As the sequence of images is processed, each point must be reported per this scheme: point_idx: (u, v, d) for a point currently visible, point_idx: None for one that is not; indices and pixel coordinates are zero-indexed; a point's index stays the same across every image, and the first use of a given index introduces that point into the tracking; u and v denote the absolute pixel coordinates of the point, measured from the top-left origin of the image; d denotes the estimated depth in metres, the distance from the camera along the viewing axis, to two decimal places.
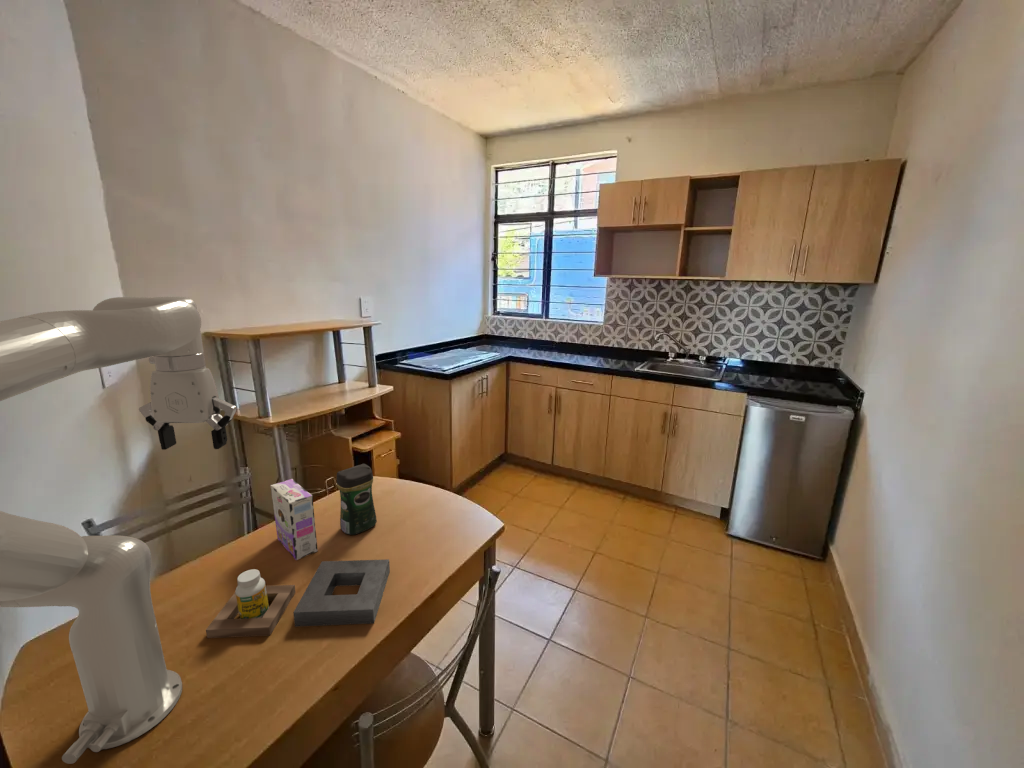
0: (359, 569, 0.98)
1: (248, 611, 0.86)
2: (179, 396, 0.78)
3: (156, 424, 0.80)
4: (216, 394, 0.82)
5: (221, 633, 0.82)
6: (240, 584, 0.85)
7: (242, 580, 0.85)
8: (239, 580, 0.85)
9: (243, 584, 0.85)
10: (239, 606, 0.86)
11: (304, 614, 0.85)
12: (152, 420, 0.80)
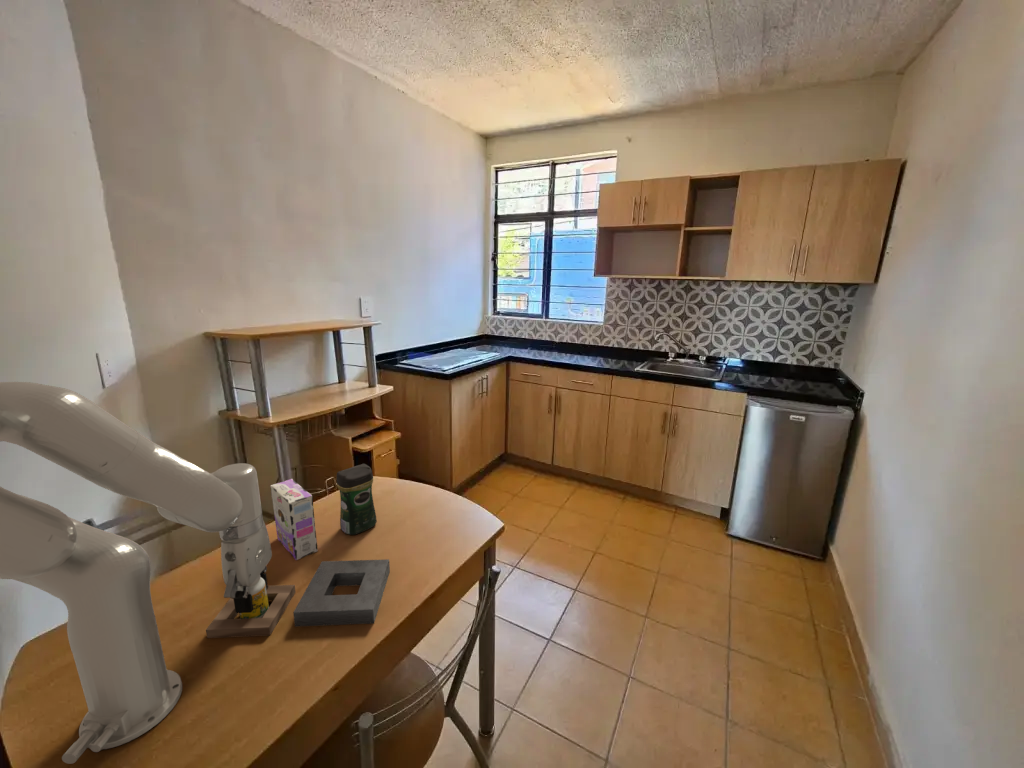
0: (359, 569, 0.98)
1: None
2: (260, 547, 0.86)
3: (246, 592, 0.83)
4: None
5: (221, 633, 0.82)
6: None
7: None
8: None
9: None
10: None
11: (304, 614, 0.85)
12: (240, 592, 0.82)
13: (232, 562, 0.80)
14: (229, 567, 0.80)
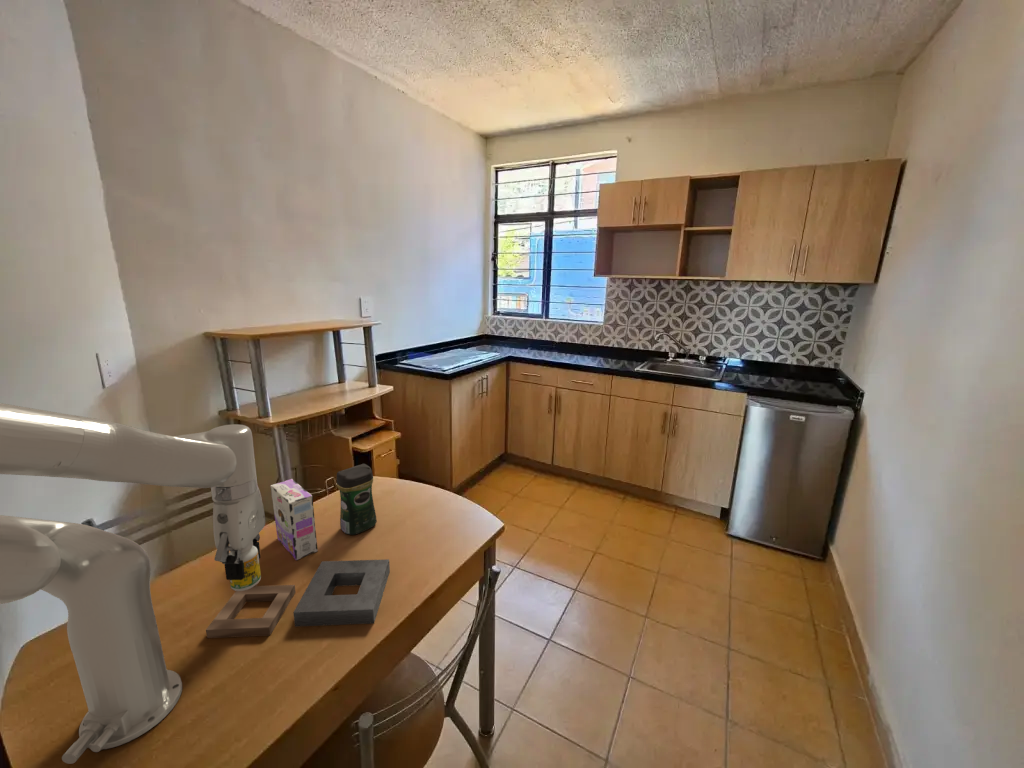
0: (359, 569, 0.98)
1: None
2: (254, 512, 0.84)
3: (237, 558, 0.81)
4: None
5: (221, 633, 0.82)
6: None
7: None
8: None
9: None
10: None
11: (304, 614, 0.85)
12: (232, 557, 0.80)
13: (224, 524, 0.78)
14: (220, 529, 0.78)
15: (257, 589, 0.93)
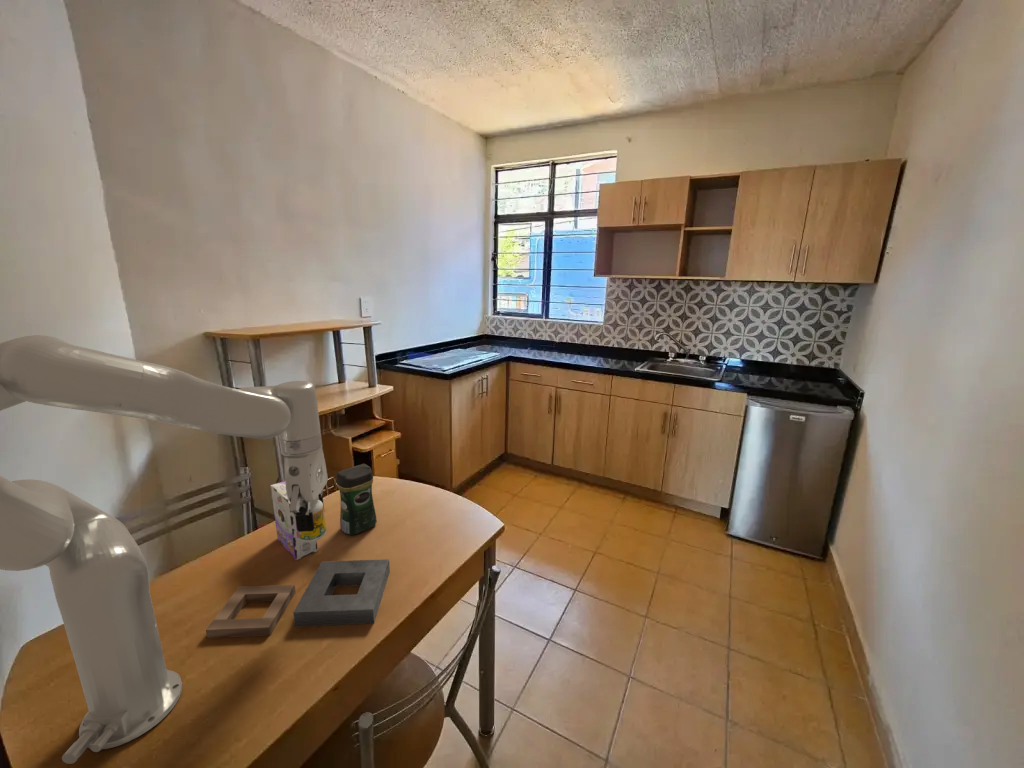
0: (359, 569, 0.98)
1: None
2: (319, 467, 0.86)
3: (308, 509, 0.83)
4: None
5: (221, 633, 0.82)
6: (300, 503, 0.85)
7: None
8: None
9: (303, 503, 0.85)
10: None
11: (304, 614, 0.85)
12: (303, 509, 0.82)
13: (296, 477, 0.80)
14: (292, 481, 0.80)
15: (257, 589, 0.93)
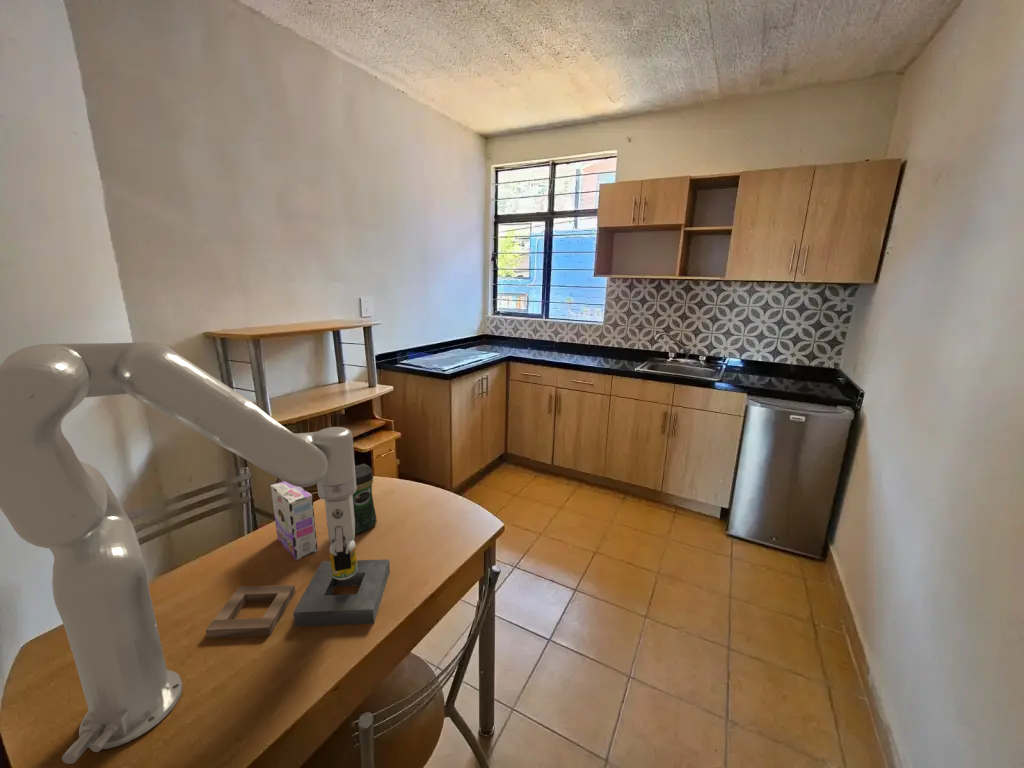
0: (359, 569, 0.98)
1: None
2: (353, 506, 0.90)
3: (347, 548, 0.87)
4: None
5: (221, 633, 0.82)
6: None
7: None
8: None
9: None
10: None
11: (304, 614, 0.85)
12: (344, 548, 0.86)
13: (339, 519, 0.84)
14: (336, 524, 0.84)
15: (257, 589, 0.93)
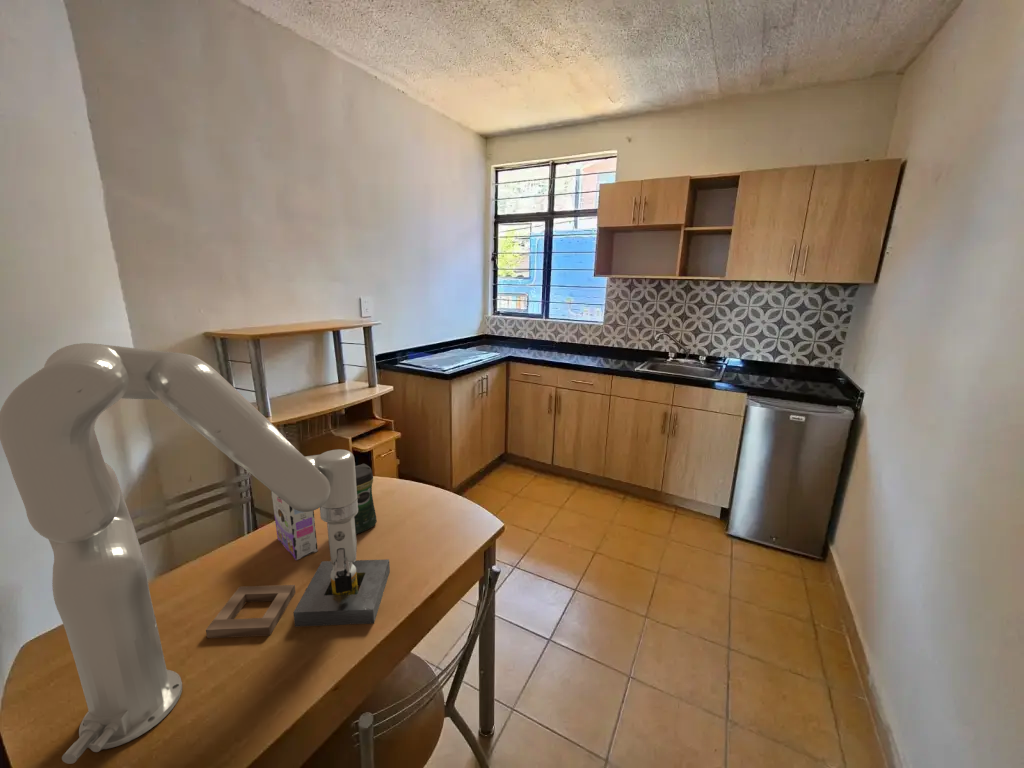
0: (359, 569, 0.98)
1: (346, 594, 0.91)
2: None
3: (348, 570, 0.87)
4: None
5: (221, 633, 0.82)
6: None
7: None
8: None
9: None
10: None
11: (304, 614, 0.85)
12: (346, 571, 0.86)
13: (341, 541, 0.86)
14: (338, 546, 0.85)
15: (257, 589, 0.93)
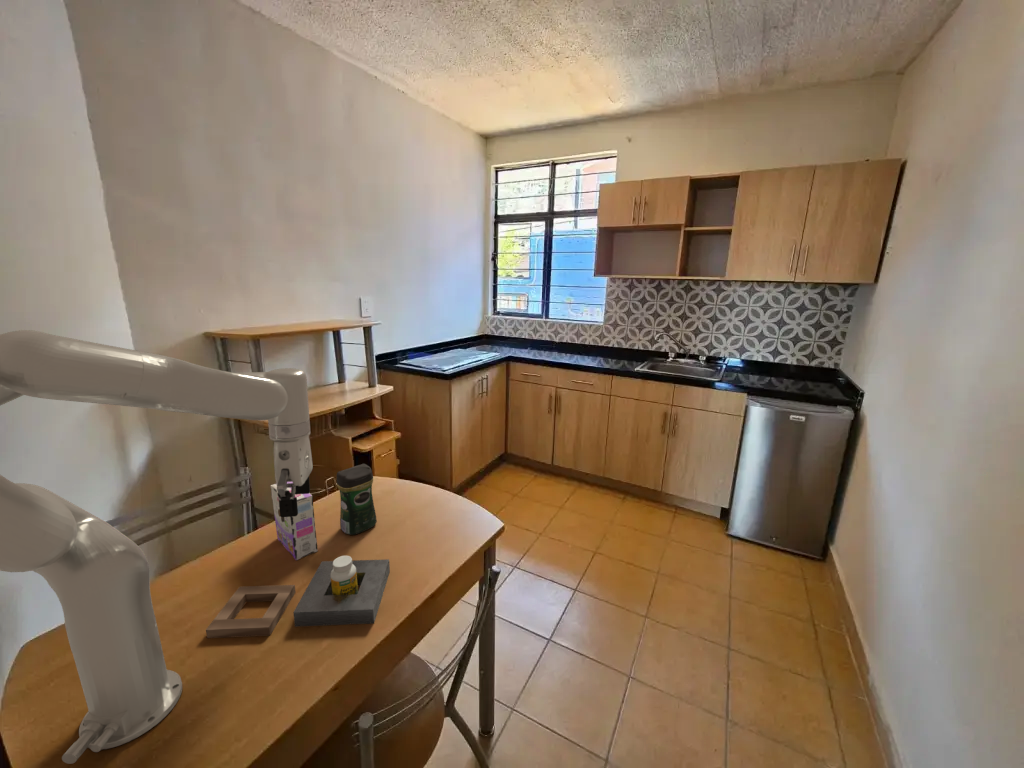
0: (359, 569, 0.98)
1: (346, 594, 0.91)
2: (307, 453, 0.88)
3: (293, 493, 0.83)
4: None
5: (221, 633, 0.82)
6: (338, 569, 0.90)
7: (339, 565, 0.90)
8: (337, 566, 0.90)
9: (341, 569, 0.90)
10: (337, 591, 0.90)
11: (304, 614, 0.85)
12: (289, 493, 0.82)
13: (286, 461, 0.82)
14: (282, 465, 0.82)
15: (257, 589, 0.93)
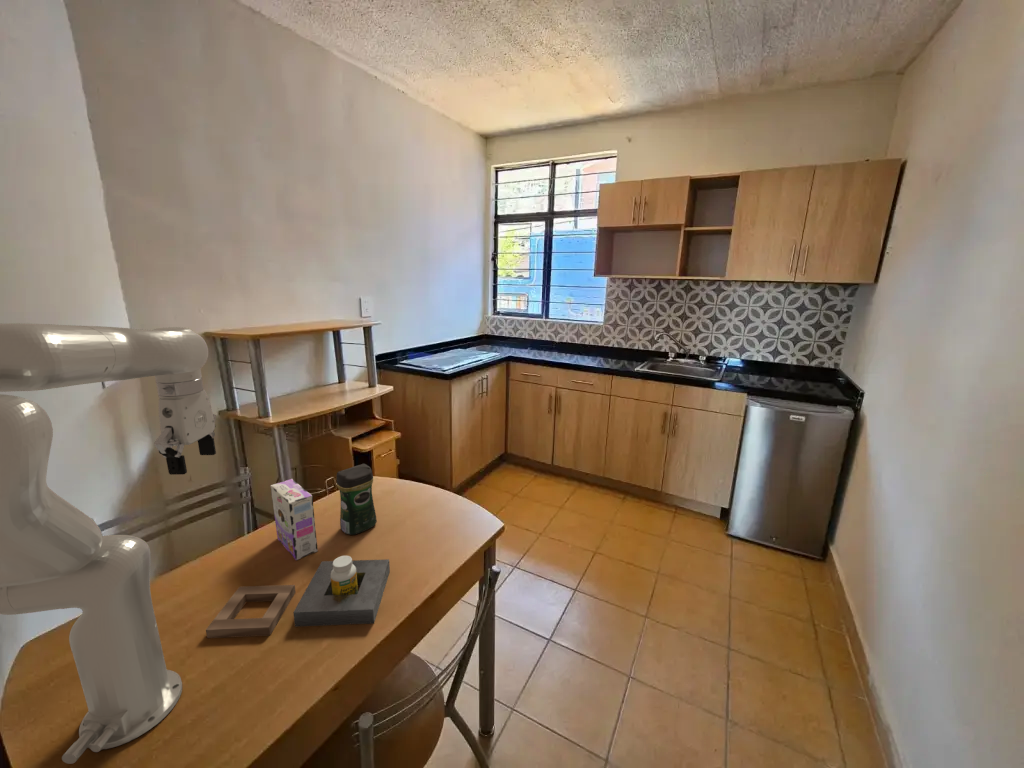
0: (359, 569, 0.98)
1: (346, 594, 0.91)
2: (201, 413, 0.88)
3: (178, 451, 0.84)
4: None
5: (221, 633, 0.82)
6: (338, 569, 0.90)
7: (339, 565, 0.90)
8: (337, 566, 0.90)
9: (341, 569, 0.90)
10: (337, 591, 0.90)
11: (304, 614, 0.85)
12: (172, 450, 0.83)
13: (169, 418, 0.82)
14: (166, 423, 0.83)
15: (257, 589, 0.93)
